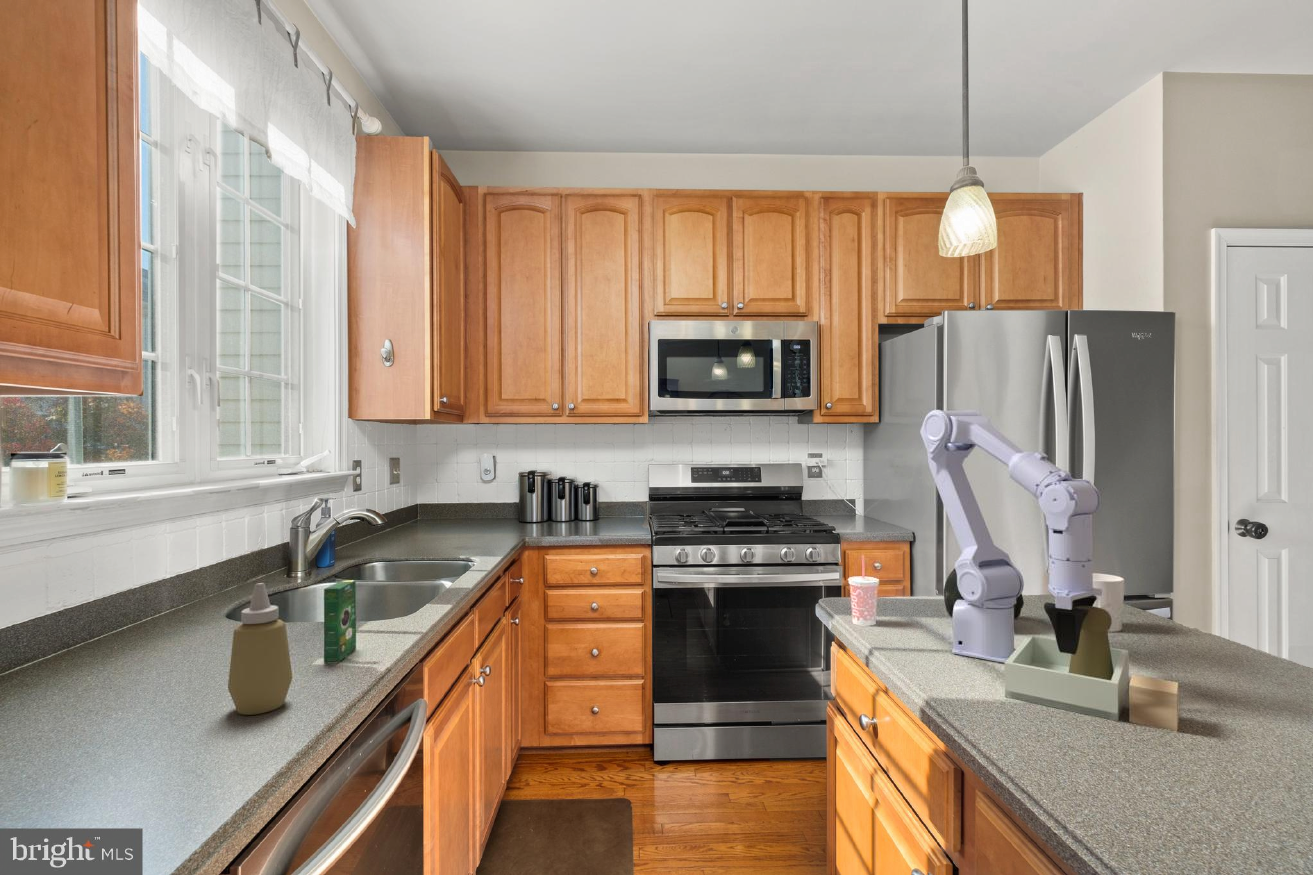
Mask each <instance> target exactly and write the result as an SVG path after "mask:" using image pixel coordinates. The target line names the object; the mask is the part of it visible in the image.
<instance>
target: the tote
mask: <svg viewBox="0 0 1313 875" xmlns="http://www.w3.org/2000/svg"><path fill="white" fill-rule="evenodd" d="M1015 649H1016V650H1015V651H1014V652H1013V654H1012V655H1011V656H1010V657H1009V658H1008V659H1007V661H1006V662H1005V663H1004V696H1005V698H1007V699H1008V698H1009V699H1013V700H1017V701H1022V702H1027V703H1032V704H1037V705H1041V706H1045V707H1051V708H1055V709H1059V710H1064V711H1069V712H1074V713H1078V714H1083V715H1086V716H1092V717H1097V718H1101V719H1104V720H1105V719H1107V720H1112V721H1115V722H1119V720H1120V716H1121V713H1122V709H1123V705H1124V702H1125V699H1126V695H1127V692H1128V689H1129V683H1130V666H1129V665H1130V663H1129V662H1130V660H1129V657H1130V654H1129V652H1130V651H1129V650H1128V649H1123V648H1117V647H1116V648H1115V647H1111V646H1110V652H1111V658H1112V664H1113V670H1114V674H1113V676H1112V679H1111V681H1110V680H1105V679H1099V678H1094V677H1088V676H1083V675H1077V674H1072V673H1069V666H1070V659H1071V654H1068V653H1062V652H1060V651H1059V649H1058V645H1057V641H1056V638H1052V637H1047V636H1040V635H1034V634H1028V635H1027V636H1026V637H1025V638H1024V640H1022V642H1021V643H1020V644H1019V645H1018V646H1017V648H1015Z"/></svg>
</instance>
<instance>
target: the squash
mask: <svg viewBox="0 0 1313 875" xmlns="http://www.w3.org/2000/svg"><path fill="white" fill-rule="evenodd" d="M979 567H980V566H979ZM1023 596H1024V595H1023V592H1022V593H1021V595H1020V596H1018V597H1017V598H1016V604H1014V621H1015V620H1016V619H1018V618H1019V616H1020V615H1021V612H1022V608H1023V607H1024V605H1025V603H1024V602H1025V601H1024V597H1023ZM943 597H944V598H943V602H944V606H945V610H946V612H947V614H948V615H949V616H950V617H951V618H952V619H953V609H954V605H955V602H956V601H957V600H965V599H964V598H963V597H962V595H961V594H960V592H959V589H958V586H957V572H956V569H955V567H954V568H953V570H952V571H951V572H950V573H949V574H948V576H947V578H946V581H945V583H944V587H943Z"/></svg>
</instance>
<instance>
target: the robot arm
mask: <svg viewBox="0 0 1313 875" xmlns="http://www.w3.org/2000/svg"><path fill="white" fill-rule="evenodd" d="M919 433H920V435H921V438H922V440H923V444H924V446H925V449H926V453H927V454H926V455H927V462H928V468H929V469H930V472H931V474H932V475H931V476H932V477H933V481H934V482H935V486H936V488H937V490H938V493H939V496H940V499H941V501H942V504H943V506H944V510H945V512H946V515H947V517H948V519H949V522H950V525H951V527H952V530H953V533H954V536H955V537H956V538H955V539H956V540H957V543H958V546H959V549H960V551H961V554H960V556H959V557H958V559H957V560H956V561H955V562H954V568H955V569H956V572H957V586H958V589H959V592H960V594H961V595H962V597H963V598H964V599H965V600H957V601H956V602H955V605H954V609H953V618H952V650H951V653H952V654H955V655H960V656H967V657H970V658H976V659H983V660H986V661H992V662H998V663H1004V664H1005V662H1006V661H1007V659H1008V658H1009V657H1010V656H1011V655H1012V654H1013V652H1014V651H1015V650H1016V649H1017V648H1015V620H1014V604H1016V598H1017V597H1018V596H1020V595H1021V593H1022V594H1023V590H1024V586H1025V582H1024V577H1023V574H1022V573H1021V571H1020V570H1019V569H1018V568H1017V567H1016V566H1015V565H1014V563H1013V562H1012V560H1011V557H1010V556H1009V554H1008V553H1006V552H1005V551H1004V550H1003V549H1001V548H1000V547H998V546H996V545H995V544H994V542H993V539H992V536H991V533H990V532H989V529H988V526H987V524H986V521H985V519H984V516H983V514H982V511H981V509H980V507H979V504H978V502H977V499H976V496H975V494H974V491H973V489H972V487H971V485H970V484H971V483H970V481H969V479H968V476H967V474H966V472H965V470H964V466H963V464H964V462H965V459H966V458H968V457H969V456H970V454H971V453H972V452H973V451H974V449H975V447H978V448H979V449H981V450H983V451H984V452H985V453H987V454H988V455H990V456H991V457H992V458H994V459H996V460H997V461H999V462H1000V463H1001V464H1003V465H1005V466H1006V467H1007V468H1008V475H1009V477H1010V479H1012V480H1013V481H1014V482H1016V483H1017V484H1018V485H1019V486H1020V487H1022V488H1023V489H1024V490H1026V491H1027V492H1028V493H1030V495H1032V496H1033V497H1034V498H1036V499H1037V500H1038V504H1039V507H1040V509H1041V511H1042V512H1043V514H1044V516H1045V525H1047V528H1048V578H1049V579H1048V584H1047V591H1048V592H1049V593H1051V594H1052V595H1053V596H1054V598H1055V600H1054V602H1055V603H1054V602H1053V603H1052V602H1045V603H1044V604H1043V609H1044V611H1045V613H1046V615H1047V616H1048V618H1049V620H1050V623H1051V625H1052V628H1053V632H1054V636H1055V639H1056V641H1057V645H1058V649H1059V651H1060V652H1062V653H1068V654H1074V655H1075V654H1076V652H1077V649H1078V644H1079V638H1080V632H1081V628H1082V624H1083V622H1084V619H1085V617H1086V615H1087V614H1088V612H1089V610H1085V609H1077V608H1076V607H1078V606H1093V604H1094V603H1095V601H1096V599H1097V596H1101V595H1102V589H1096V588H1093V572H1094V571H1093V570H1094V569H1093V568H1094V567H1093V515H1094V514H1095V513H1096V512H1097V511H1098V510H1099V509H1100V506H1101V494H1100V492H1099V490H1098V488H1097V487H1096V486H1095V485H1094V484H1093V483H1092V482H1091V481H1090V480H1088V479H1083V478H1073V477H1072V473H1070V471H1067V470H1062V469H1061V468H1059V467H1058V466H1057V465H1055V464H1054V463H1052V462H1051V461H1050V460H1049V459H1047V458H1048V457H1049V456H1048V455H1047V454H1046V453H1044V452H1043V451H1041V452H1039V451H1034V450H1030V451H1025V452H1024V451H1023V450H1022V449H1021V448H1020V447H1018V446H1017V445H1016V444H1015V443H1014V442H1012V441H1011V440H1010V439H1009V438H1008V437H1006V436H1005V435H1004V434H1003V433H1002V432H1000V430H999V429H997V428H995V427H994V426H993V425H992V424H991V423H990V420H989V418H988V417H986V416H984V415H982V414H981V413H980V412H978V411H977V410H971V409H970V410H942V409H934V410H931V411H929V412H928V413H927V414H926V416H925V417H924V420H923V422H922V426H921V428H920V431H919ZM979 566H980V567H979ZM1095 595H1097V596H1095Z"/></svg>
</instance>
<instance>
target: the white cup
mask: <svg viewBox="0 0 1313 875" xmlns="http://www.w3.org/2000/svg"><path fill="white" fill-rule="evenodd" d="M1093 588H1096V589H1102V595H1101V596H1097V595H1095V596H1097V599H1096V601H1095V603H1094V604H1093V607H1098V608H1102V609H1104V610H1106V611H1107V612H1108V613H1109V614H1110V616H1111V619H1112V624H1111V627H1110V629H1109V630H1108V631H1107V633H1116V632H1120V631H1121V630H1122V627H1123V625H1122V623H1123V618H1122V617H1123V612H1124V597H1125V596H1124V595H1125V594H1124V592H1125V579H1124V578H1123V577H1121V576H1118V575H1114V574H1113V575H1112V574H1106V573H1096V572H1095V573H1093Z"/></svg>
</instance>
